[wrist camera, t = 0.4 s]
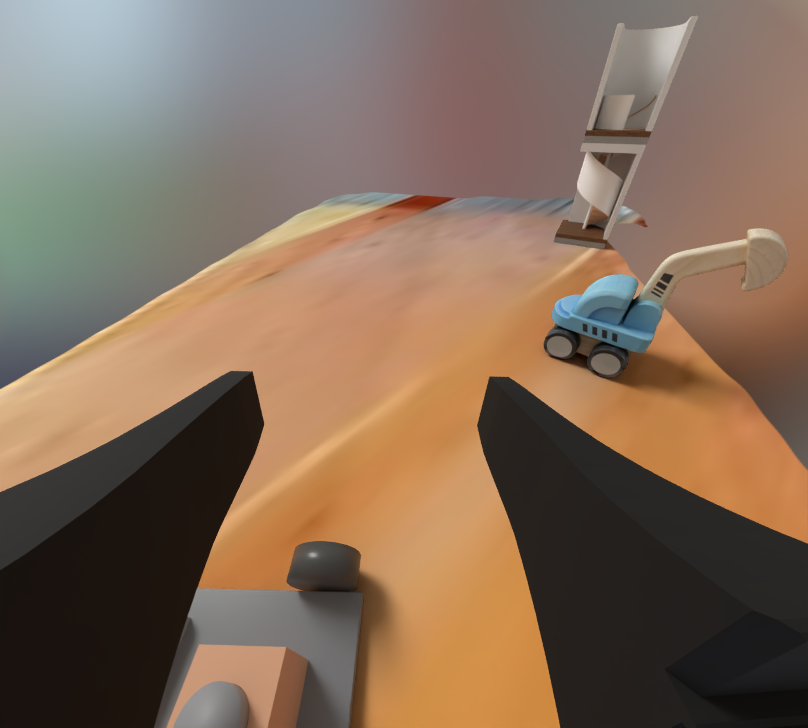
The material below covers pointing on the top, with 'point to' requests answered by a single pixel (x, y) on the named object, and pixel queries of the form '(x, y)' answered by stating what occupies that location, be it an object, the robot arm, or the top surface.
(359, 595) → the chassis
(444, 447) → the top surface
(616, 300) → the toy excavator
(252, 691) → the block
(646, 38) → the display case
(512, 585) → the top surface
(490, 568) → the top surface
